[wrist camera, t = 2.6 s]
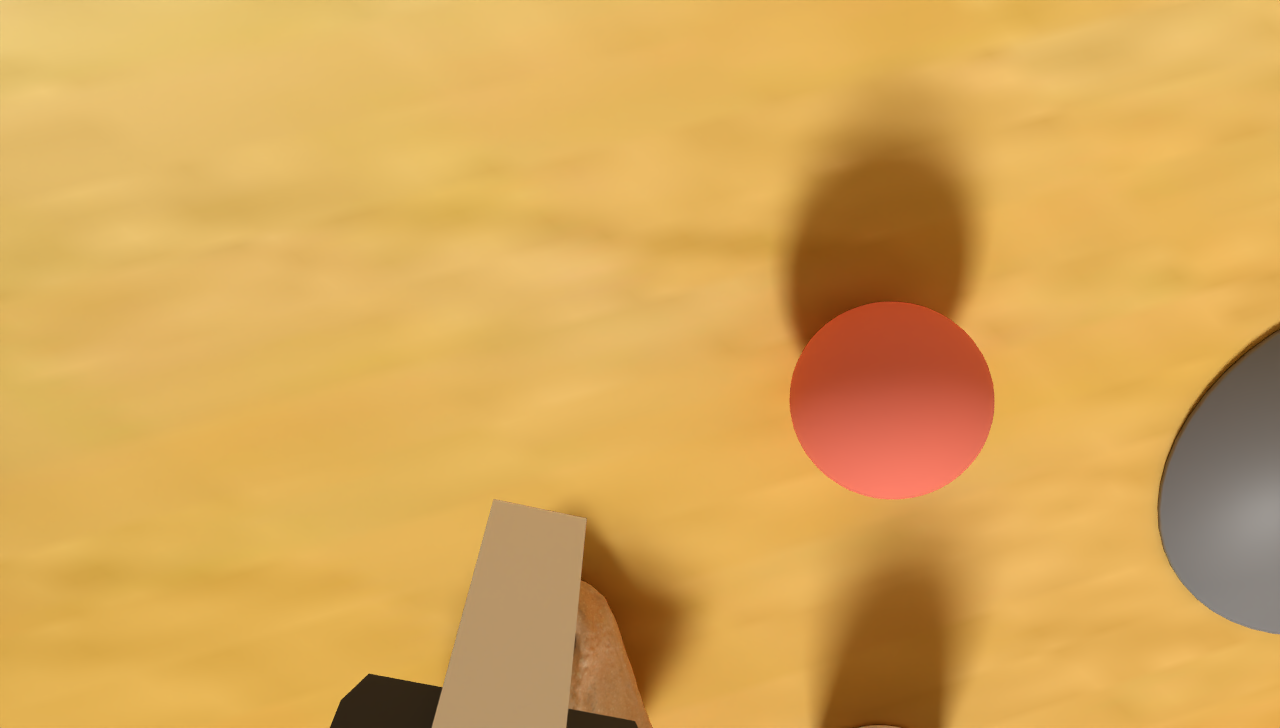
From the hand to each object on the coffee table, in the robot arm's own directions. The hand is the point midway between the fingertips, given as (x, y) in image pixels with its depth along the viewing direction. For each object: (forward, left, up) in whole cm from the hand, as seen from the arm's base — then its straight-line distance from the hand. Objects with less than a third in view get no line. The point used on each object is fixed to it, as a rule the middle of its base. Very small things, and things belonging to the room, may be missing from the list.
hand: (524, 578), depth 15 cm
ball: (+9, +3, -11) cm, 14 cm away
